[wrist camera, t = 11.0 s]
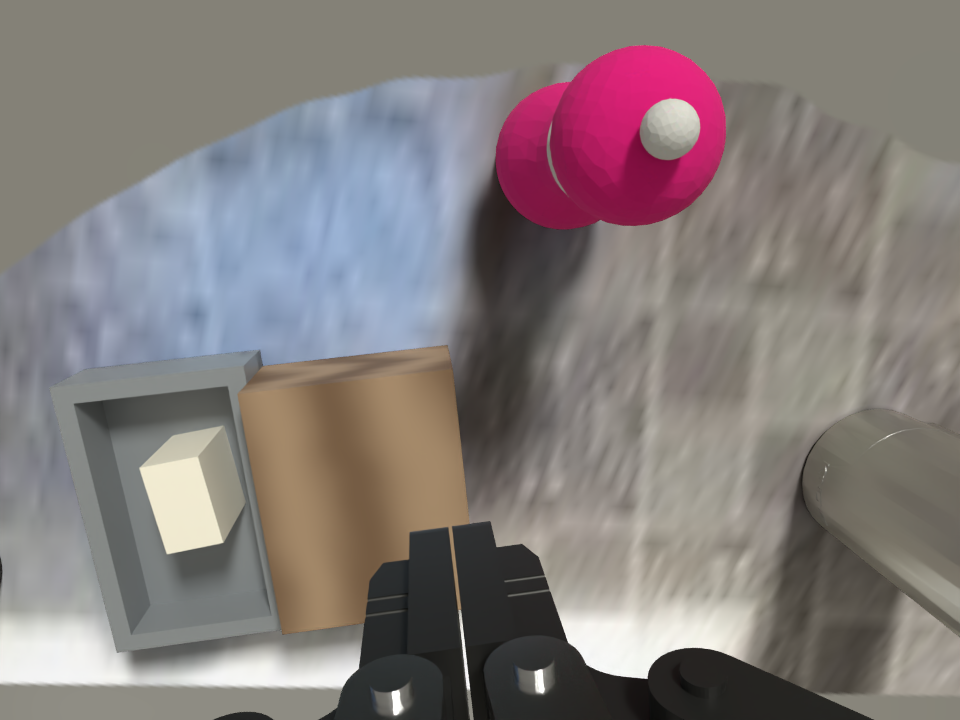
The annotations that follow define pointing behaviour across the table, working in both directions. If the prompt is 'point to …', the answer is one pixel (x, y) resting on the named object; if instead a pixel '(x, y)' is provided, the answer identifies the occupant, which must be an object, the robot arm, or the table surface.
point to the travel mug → (0, 569)
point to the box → (127, 509)
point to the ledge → (350, 473)
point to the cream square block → (194, 489)
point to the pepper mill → (614, 142)
